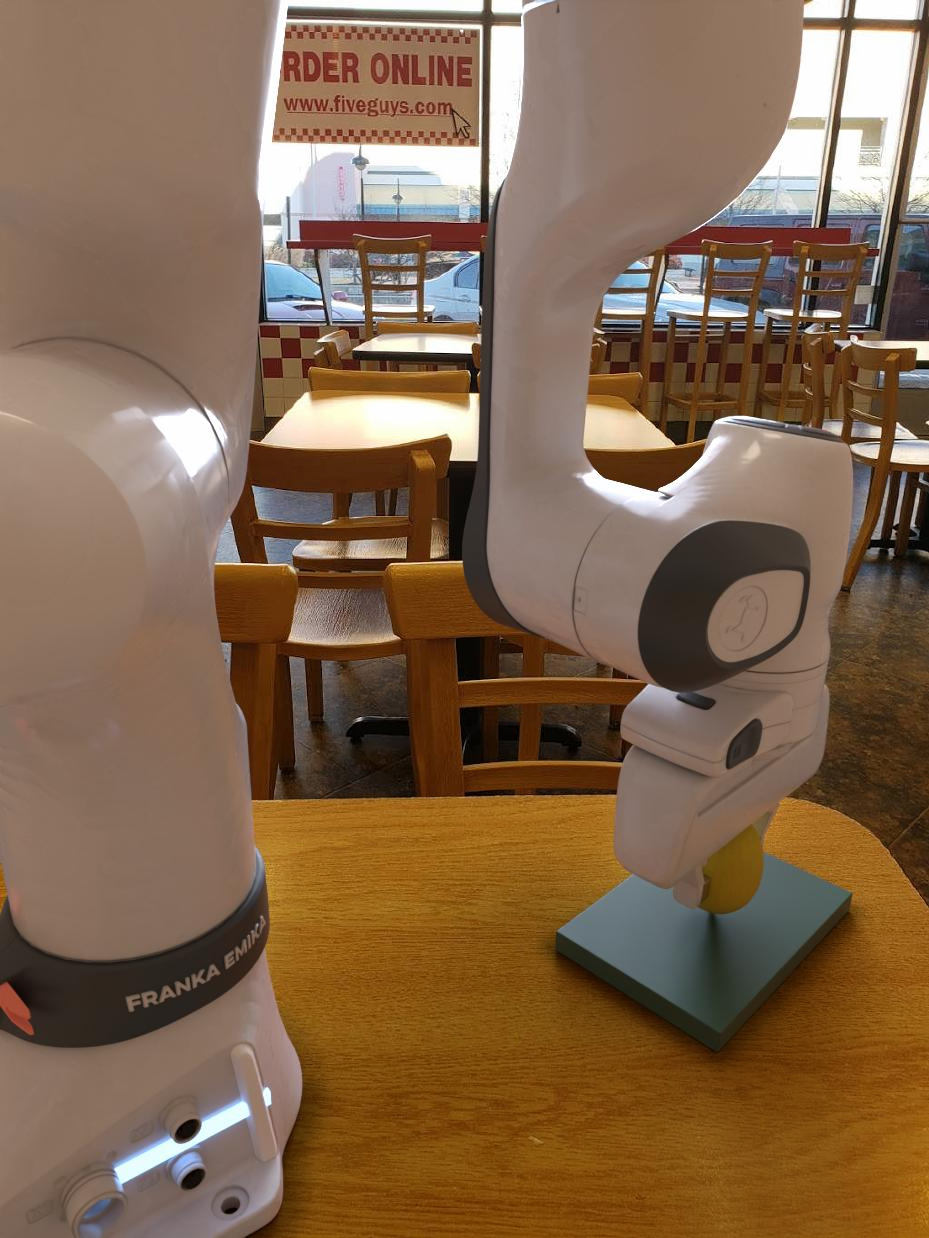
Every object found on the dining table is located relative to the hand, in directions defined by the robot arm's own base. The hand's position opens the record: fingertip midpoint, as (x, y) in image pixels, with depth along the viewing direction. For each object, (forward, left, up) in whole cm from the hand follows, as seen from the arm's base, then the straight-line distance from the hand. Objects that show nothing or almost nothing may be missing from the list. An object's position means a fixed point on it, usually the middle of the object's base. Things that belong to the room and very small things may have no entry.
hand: (717, 876), depth 62 cm
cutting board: (0, 0, -4) cm, 4 cm away
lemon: (0, 0, -3) cm, 3 cm away
